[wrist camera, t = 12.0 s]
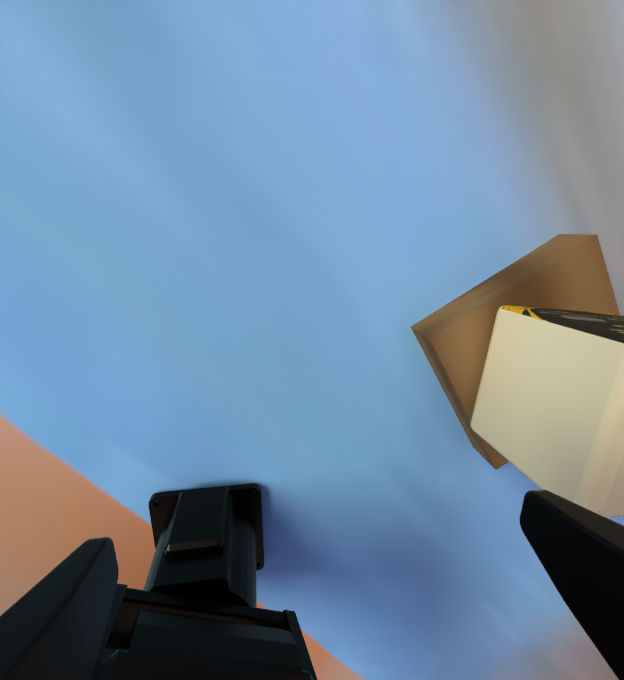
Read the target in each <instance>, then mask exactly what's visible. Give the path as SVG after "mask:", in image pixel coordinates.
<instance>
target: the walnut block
mask: <svg viewBox="0 0 624 680" xmlns="http://www.w3.org/2000/svg"><path fill="white" fill-rule="evenodd" d="M505 305H510V306H523V307H535V308H548V309H561V310H574V311H587V312H599V313H611V314H616V315H620V314H619V310H618V307H617V303H616V300H615V296H614V293H613V289H612V286H611V282H610V279H609V275H608V272H607V268H606V265H605V261H604V258H603V254H602V251H601V247H600V243H599V240H598V236H597V235H578V234H559V235H558V236H556V237H555V238H553V239H551V240H550V241H548V242H546V243H545V244H543V245H542V246H540V247H538V248H537V249H535V250H534V251H532V252H530V253H529V254H527V255H526V256H524V257H522V258H521V259H519V260H518V261H516V262H514V263H513V264H511V265H509V266H508V267H506V268H505V269H503V270H501V271H500V272H498V273H497V274H495V275H493V276H492V277H490V278H489V279H487V280H485V281H484V282H482V283H481V284H479V285H477V286H476V287H474V288H472V289H471V290H469V291H468V292H466V293H464V294H463V295H461V296H460V297H458V298H456V299H455V300H453V301H452V302H450V303H448V304H447V305H445V306H444V307H442V308H440V309H439V310H437V311H436V312H434V313H432V314H431V315H429V316H427V317H426V318H424V319H423V320H421V321H419V322H418V323H416V324H415V325H413V326H411V328H412V330H413V332H414V334H415V336H416V338H417V340H418V342H419V344H420V346H421V348H422V349H423V351H424V353H425V355H426V357H427V359H428V361H429V363H430V365H431V367H432V369H433V371H434V373H435V374H436V376H437V378H438V380H439V382H440V384H441V386H442V388H443V390H444V392H445V394H446V396H447V398H448V399H449V401H450V403H451V405H452V407H453V409H454V411H455V413H456V415H457V417H458V419H459V421H460V422H461V424H462V426H463V428H464V430H465V432H466V434H467V436H468V438H469V440H470V442H471V444H472V446H473V447H474V448H475V449H476V450H477V451H478V452H479V453H480V454H481V455H482V456H483V457H484V458H485V459H486V460H487V461H488V462H489V463H490V464H491V465H492V466H493V467H494V468H495V469H497V468H499V467H501V466H502V465H504V464H506V463H507V462H509V461H508V460H507V459H506V458H505V457H504V456H502V455H501V454H500V453H499V452H498V451H497V450H495V449H494V448H493V447H492V446H491V445H490V444H488V443H487V442H486V441H485V440H484V439H483V438H481V437H480V436H479V435H478V434H477V433H476V432H474V431H473V429H472V428H471V425H470V424H471V419H472V415H473V411H474V407H475V403H476V398H477V394H478V390H479V386H480V382H481V378H482V373H483V369H484V365H485V361H486V357H487V352H488V348H489V344H490V340H491V336H492V332H493V327H494V323H495V319H496V315H497V311H498V309H499V308H500V307H501V306H505Z"/></svg>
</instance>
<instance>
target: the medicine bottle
mask: <svg viewBox="0 0 624 680" xmlns="http://www.w3.org/2000/svg"><path fill="white" fill-rule="evenodd" d="M470 425H471V428H472V429H473V431H474V432H476V433H477V434H478V435H479V436H480V437H481V438H483V439H484V440H485V441H486V442H487V443H488V444H490V445H491V446H492V447H493V448H494V449H495V450H497V451H498V452H499V453H500V454H501V455H502V456H504V457H505V458H506V459H507V460H508V461H509V462H511V463H512V464H513V465H514V466H515V467H516V468H518V469H519V470H520V471H521V472H522V473H523V474H525V475H526V476H527V477H528V478H529V479H530V480H532V481H533V482H534V483H535V484H536V485H538V486H539V487H540V488H541V489H544V490H548V491H550V492H552V493H554V494H556V495H559V496H561V497H563V498H565V499H567V500H569V501H571V502H573V503H576V504H578V505H580V506H582V507H584V508H586V509H588V510H591V511H593V512H595V513H597V514H599V515H601V516H603V517H618V516H624V316H620V315H616V314H611V313H599V312H587V311H574V310H561V309H548V308H535V307H523V306H510V305H505V306H501V307H500V308H499V309H498V311H497V315H496V319H495V323H494V327H493V332H492V336H491V340H490V344H489V348H488V352H487V357H486V361H485V365H484V369H483V373H482V378H481V382H480V386H479V390H478V394H477V398H476V403H475V407H474V411H473V415H472V419H471V424H470Z"/></svg>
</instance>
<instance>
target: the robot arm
mask: <svg viewBox="0 0 624 680" xmlns="http://www.w3.org/2000/svg"><path fill="white" fill-rule="evenodd" d="M251 491H255V492H256V493H254V494H251V493H250V492H251ZM156 501H160V502H162V503H157V502H156ZM149 511H150V517H151V523H152V530H153V536H154V542H155V548H156V551H155V554H154V557H153V561H152V564H151V567H150V570H149V573H148V577H147V580H146V583H145V586H144V590H138V589H132V588H127V585H123V584H117V580H118V564H117V560H116V554H115V549H114V544H113V541H112V539H111V538H109V537H103V538H94V539H89V540H87V541H85V542H84V543H83V544H82V545H80V546H79V547H78V548H77V549H76V550H75V551H74V552H72V553H71V554H70V555H69V556H68V557H67V558H66V559H65V560H63V561H62V562H61V563H60V564H59V565H58V566H57V567H55V568H54V569H53V570H52V571H51V572H50V573H49V574H48V575H46V576H45V577H44V578H43V579H42V580H41V581H40V582H38V583H37V584H36V585H35V586H34V587H33V588H32V589H31V590H29V591H28V592H27V593H26V594H25V595H24V596H23V597H21V598H20V599H19V600H18V601H17V602H16V603H15V604H13V606H11V607H10V608H9V609H8V610H7V611H6V612H5V613H3V614H2V615H1V616H0V680H317V678H316V674H315V671H314V668H313V665H312V662H311V659H310V656H309V653H308V650H307V647H306V644H305V641H304V638H303V635H302V632H301V629H300V626H299V623H298V620H297V617H296V614H295V612H294V611H289V610H284V611H283V612H280V611H274V610H267V609H261V608H256V571H257V570H260V569H262V568H263V566H264V547H263V525H262V503H261V488H260V486H259V485H257V484H253V483H252V484H241V485H231V486H221V487H210V488H200V489H190V490H179V491H169V492H158V493H155V494H153V495H152V497H151V498H150V501H149ZM520 525H521V528H522V531H523V533H524V534H525V536H526V538H527V539H528V541H529V543H530V545H531V546H532V548H533V550H534V551H535V553H536V555H537V556H538V558H539V560H540V561H541V563H542V565H543V567H544V568H545V570H546V572H547V573H548V575H549V577H550V578H551V580H552V582H553V584H554V585H555V587H556V589H557V590H558V592H559V593H560V595H561V597H562V598H563V600H564V601H565V603H566V604H567V606H568V607H569V609H570V610H571V612H572V613H573V615H574V616H575V618H576V619H577V621H578V622H579V623H580V625H581V626H582V628H583V629H584V631H585V632H586V633H587V635H588V636H589V638H590V639H591V641H592V642H593V643H594V645H595V646H596V648H597V649H598V651H599V652H600V653H601V655H602V656H603V658H604V659H605V661H606V662H607V663H608V665H609V666H610V668H611V669H612V671H613V672H614V674H615V675H616V676H617V678H618V679H619V680H624V526H623V525H620V524H618V523H616V522H614V521H612V520H610V519H608V518H605V517H603V516H601V515H599V514H597V513H595V512H593V511H591V510H588V509H586V508H584V507H582V506H580V505H578V504H576V503H573V502H571V501H569V500H567V499H565V498H563V497H561V496H559V495H556V494H554V493H552V492H550V491H548V490H544V489H540V490H531V491H528V492H527V493H526V494H525V496H524V501H523V505H522V510H521V515H520Z"/></svg>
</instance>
